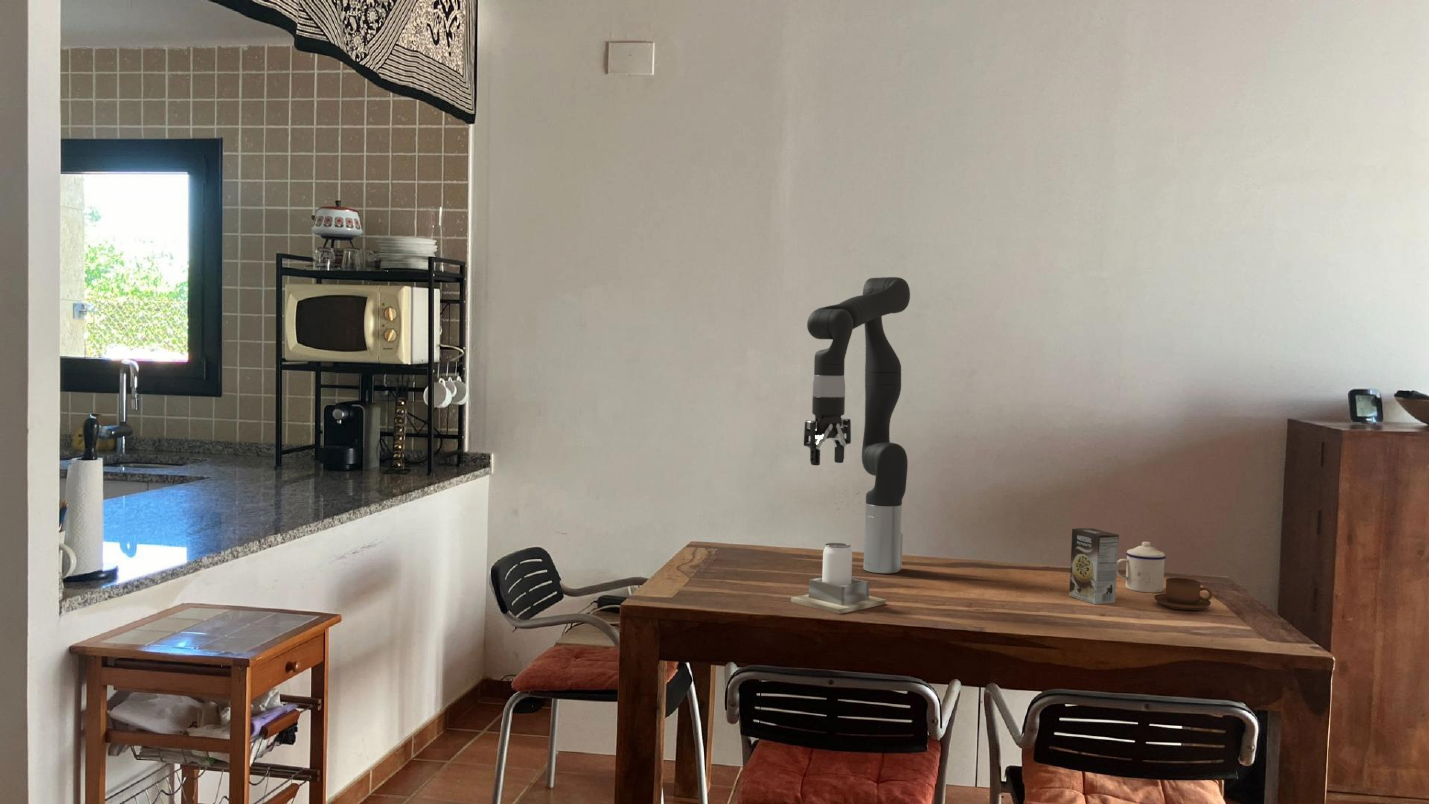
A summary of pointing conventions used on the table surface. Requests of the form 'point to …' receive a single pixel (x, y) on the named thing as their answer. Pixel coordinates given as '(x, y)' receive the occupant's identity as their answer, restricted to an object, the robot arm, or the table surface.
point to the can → (837, 564)
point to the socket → (838, 596)
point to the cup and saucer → (1184, 595)
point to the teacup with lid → (1144, 569)
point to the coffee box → (1093, 565)
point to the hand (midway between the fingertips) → (827, 463)
